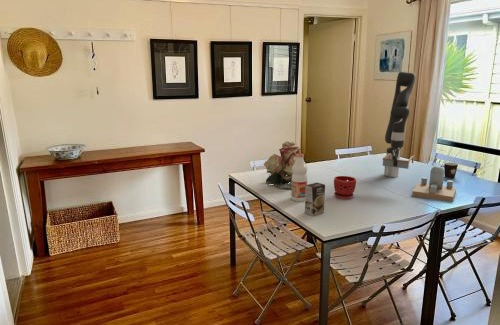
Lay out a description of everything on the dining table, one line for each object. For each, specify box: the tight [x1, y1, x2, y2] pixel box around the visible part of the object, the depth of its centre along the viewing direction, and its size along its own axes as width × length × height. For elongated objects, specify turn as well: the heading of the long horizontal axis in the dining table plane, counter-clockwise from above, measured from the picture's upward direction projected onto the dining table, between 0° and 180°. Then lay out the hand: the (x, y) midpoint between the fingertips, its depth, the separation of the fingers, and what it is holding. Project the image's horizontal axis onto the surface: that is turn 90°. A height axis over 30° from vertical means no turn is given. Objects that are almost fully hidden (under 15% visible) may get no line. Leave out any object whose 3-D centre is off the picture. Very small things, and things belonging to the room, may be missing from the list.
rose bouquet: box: [263, 141, 305, 189], centre depth 249 cm, size 26×29×30 cm
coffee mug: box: [439, 161, 459, 180], centre depth 261 cm, size 12×9×10 cm
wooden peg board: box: [411, 165, 457, 202], centre depth 225 cm, size 22×21×17 cm
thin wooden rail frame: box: [382, 153, 415, 170], centre depth 239 cm, size 16×17×5 cm
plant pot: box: [333, 175, 357, 200], centre depth 224 cm, size 13×13×12 cm
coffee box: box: [304, 182, 326, 217], centre depth 198 cm, size 9×6×16 cm
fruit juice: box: [290, 153, 308, 202], centre depth 219 cm, size 9×9×28 cm
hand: (395, 165), depth 233 cm, fingers closed on thin wooden rail frame, 1 cm apart
